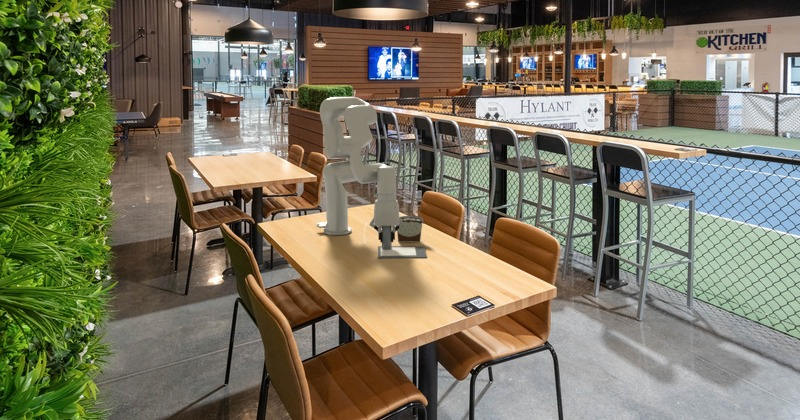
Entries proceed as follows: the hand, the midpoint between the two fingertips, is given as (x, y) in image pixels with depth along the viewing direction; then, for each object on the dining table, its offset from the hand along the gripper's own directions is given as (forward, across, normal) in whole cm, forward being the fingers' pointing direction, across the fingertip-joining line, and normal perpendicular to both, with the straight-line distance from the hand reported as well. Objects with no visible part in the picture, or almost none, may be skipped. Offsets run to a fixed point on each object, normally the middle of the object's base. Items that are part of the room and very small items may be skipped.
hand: (386, 241), depth 235 cm
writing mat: (+4, +6, -4) cm, 8 cm away
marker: (+3, 0, 0) cm, 3 cm away
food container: (+4, +10, +14) cm, 18 cm away
